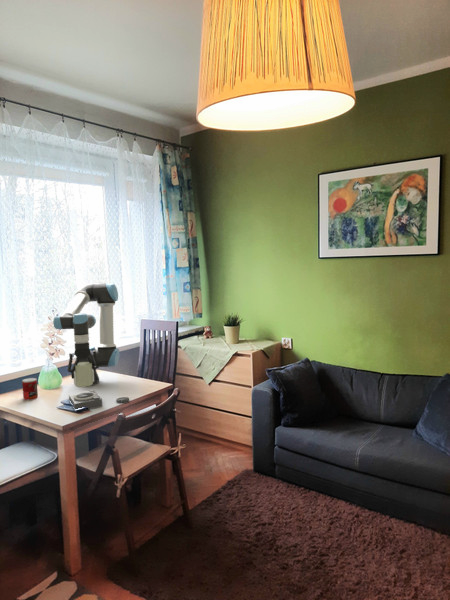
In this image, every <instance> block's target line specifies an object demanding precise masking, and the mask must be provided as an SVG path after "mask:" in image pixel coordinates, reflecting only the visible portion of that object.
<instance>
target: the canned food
mask: <svg viewBox="0 0 450 600" xmlns="http://www.w3.org/2000/svg"><path fill="white" fill-rule="evenodd" d="M21 383H22V384H21V386H22V395H23V396H22V397H23V400H24V401H30V400H31V401H32V400H36V399H37V398H38V395H39V394H38V379H37V378H36V377H29V378H24V379H22V381H21Z"/></svg>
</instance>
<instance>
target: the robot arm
mask: <svg viewBox="0 0 450 600" xmlns="http://www.w3.org/2000/svg"><path fill="white" fill-rule="evenodd" d="M118 300H119V292H118V288H117V285H116V284H115V283H113V282H111V283H110V282H107V283H105V282H101V283H98V282H97V283H88V284H85V285H84V286H82V287H81V288H79V289H77V291H76V292H75V294H74V298H73V299H72V300H71V302H70V304H69V305H68V306H67V308H65V310H64V311H63V313H62V314H61V315H57V316H55V317H54V318H53V327H54V329H56V330H73V335H74V336H73V337H74V352H71V353H69V354H68V356H69V359H68V366H67V372H68V373H71V374H70V375H71V379H73V384H74V385H75V386H76V373H75V365H77V364H78V363H80V362H89V363H92V379H93V384H92V385H90V386H95V385H97V384H100V377H99V374H98V372H97V369H99V368H113V367H114V368H115V367H116V366H117V365H118V362H119V360H120V349H119V348H117V345H116V344H115V342H114V341H115V339H114V335H115V334H114V306H115V305H116V302H117V301H118ZM91 302H96V305H97V307H99V308H98V309H99V310H98V311H99V312H98V313H99V314H98V315H99V317H98V319H99V344H98V346H97V349H96V347H95V346H90V342H89V341H90V337H89V335H90V333H89V329H91V328H94V326H95V325H96V322H97V319H96V317H95V316H94V315H92V314H87V313H81V311H82V310H83V309H84V307H85V306H86V305H87V304H88V303H91ZM74 357H75V361H74V363H73V360H74V359H73V358H74ZM72 364H73V365H72ZM90 386H89V387H90Z"/></svg>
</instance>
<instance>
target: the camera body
mask: <svg viewBox="0 0 450 600" xmlns="http://www.w3.org/2000/svg"><path fill="white" fill-rule="evenodd" d="M68 400H70V401H71V403H72V404H73V407H74V408H75V409H78V408H82V407H87V408H88V409H87V410H89V409H96V408H101V407H103V399H102V398H101V396H100V395H99V394H98V393H97V392H96V391H95V390H93V389H90V390H89V391H84V392H83V391H82V392H79V393H73V394H69V395H68ZM73 407H72V408H73ZM74 408H73V409H74Z"/></svg>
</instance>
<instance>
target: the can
mask: <svg viewBox="0 0 450 600" xmlns="http://www.w3.org/2000/svg"><path fill="white" fill-rule="evenodd" d="M74 372H75V373H76V385H75V386H76V387H79V388H83V387H84V388H85V387H90V385H91V386H93V385H92V384H93V379H92V363H89V362H80V363H78V364H77V365H75V371H74Z"/></svg>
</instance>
